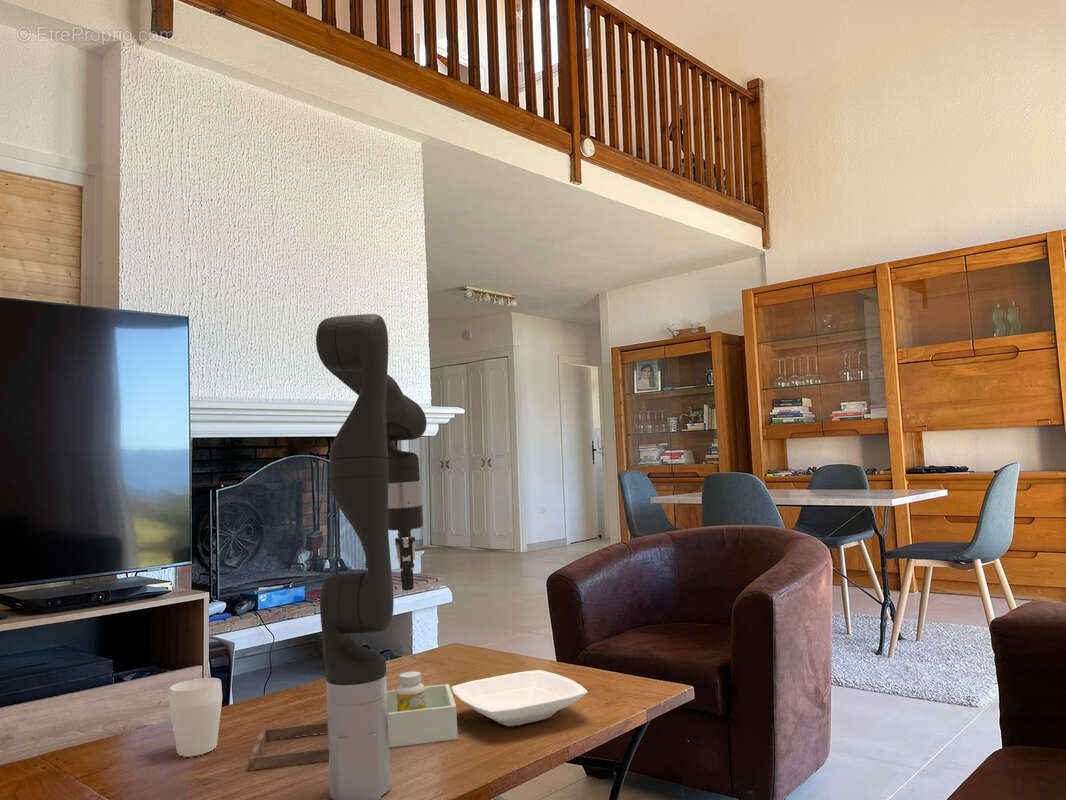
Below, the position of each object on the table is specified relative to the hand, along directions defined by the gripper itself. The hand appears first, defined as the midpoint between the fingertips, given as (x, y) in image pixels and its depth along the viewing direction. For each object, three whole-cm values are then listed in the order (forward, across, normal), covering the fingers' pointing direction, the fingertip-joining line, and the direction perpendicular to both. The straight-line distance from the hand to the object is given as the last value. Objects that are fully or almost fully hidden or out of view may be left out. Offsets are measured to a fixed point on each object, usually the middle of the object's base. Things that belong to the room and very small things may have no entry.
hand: (407, 586), depth 157 cm
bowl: (+26, -6, -20) cm, 34 cm away
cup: (+26, -4, +39) cm, 47 cm away
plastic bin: (+26, -6, 0) cm, 27 cm away
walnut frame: (+26, -10, +20) cm, 34 cm away
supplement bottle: (+25, -6, 0) cm, 26 cm away
